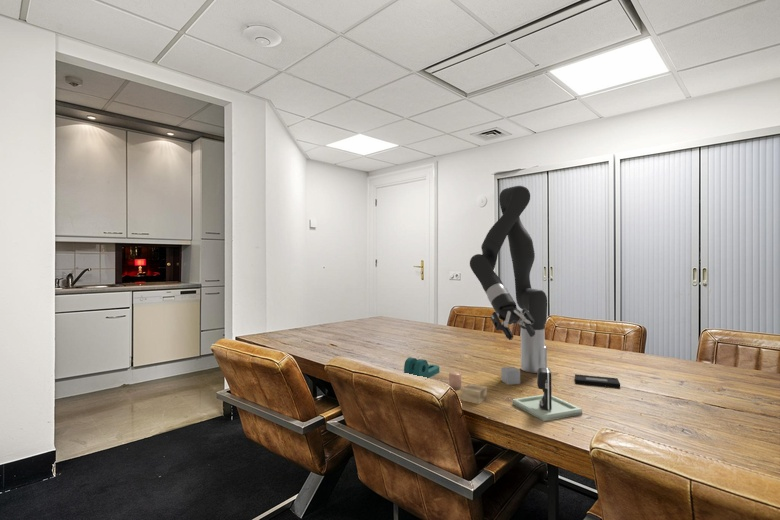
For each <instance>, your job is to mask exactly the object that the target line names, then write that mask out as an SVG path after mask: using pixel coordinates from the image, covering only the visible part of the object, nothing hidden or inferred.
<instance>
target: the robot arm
mask: <svg viewBox="0 0 780 520" xmlns="http://www.w3.org/2000/svg"><path fill="white" fill-rule="evenodd" d="M498 201H499V206H500V210H501V213H502V215H501V216H500V217H499V219H498V220H497V221H496V222H494V224H493V225H492V226H491V227H490V229H489V230H488V232H487V233H486V236H485V238H484V240H483V242H482V244H481V252H482V253H477V254H474V255H473V256H472V257H471V258H470V259H469V268H470V269H471V271H472V273H473V274H474V275H475V277H476V279H477V280H478V282H479V283H480V284H481V288H482V289H483V290H484V293H485V294H486V296H487V300H488V301H489V303H490V304H491V307H492V309H493V310H494V311H493V312H492V314H491V316H490V319H491V322H492V324H493V325H494V328H495V330H496V331H502V332H503V334H504V335H505V338H506V339H508V340H509V341H512V340H513V338H514V335H513V332H512V331H511V329H510V328H509V327H508V326H509V325H511V324H512V325H513V324H514V325H515V324H518V325H519V326H520V369H521V371H523V372H527V373H531V374H532V373H533V374H536V373H537V371H538V369H539V368H548V348H547V346H546V345H545V343H546V340H545V339H546V335H545V334H546V333H545V332H546V330H545V324H546V322H547V318H548V296H547V295H546V292H545V291H544V290H543V289H538V288H532V285H531V278H530V277H531V276H530V275H531V271H532V267H533V264H534V261H535V258H536V256H535V254H536V253H535V248H534V241H533V239H532V237H531V234H529V232H528V230H527V229H526V227H525V226H524V225H523V223H522V220H521V218H520V216H521V215H522V213H523V212H524V211H525V209H526V208H527V206H528V205H529V203H530V201H531V193H530V190H529V189H528V187H527V186H524V185H514V186H511V187H506V188H504V189H502V190H501V191H500V193H499V198H498ZM506 238H507V240H508V246H509V252H510V259H511V262H512V263H511V264H512V270H513V275H514V287H515V299H516V301H515V300H514V298H513V297H512V295H511V294H510V292H509V290H508V288H507V287H506V286H505V285H504V284H503V282H502V280H501V278H500V276H498V274H497V273H496V272H495V271H494V270H495V267H496V264H497V259H498V255H499V252H500V250H501V248H502V247H503V245H504V242H505V240H506ZM517 306H518V307H519V308H520V309H518V307H517ZM501 320H502V322H501Z"/></svg>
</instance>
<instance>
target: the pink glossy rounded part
mask: <svg viewBox="0 0 780 520" xmlns="http://www.w3.org/2000/svg"><path fill="white" fill-rule="evenodd" d="M462 381H463V380H462V373H461V372H459V371H451V372H449V373H448V386H449V385H450V386H451V387H452V388H453V389H452V390H462V388H463V387H462Z"/></svg>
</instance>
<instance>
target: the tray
mask: <svg viewBox="0 0 780 520" xmlns="http://www.w3.org/2000/svg"><path fill="white" fill-rule="evenodd" d="M543 395H544V394H538V395H531V396H525V397H519V398H513V399H512V405H514V406H516V407H517V408H518V409H521V410H522V411H524V412H526V413H528V414H530V415H532V416H534V417H535V418H537V419H538V420H541V421H542V422H545V421H546V422H547V421H552V420H558V419H562V418H563V419H564V418H568V417H575V416H580V415H583V408H581V407H579V406H577V405H575V404H572V403H570V402H567V401H566V400H564V399H561V398H559V397H557V396H554V395H553V394H551V395H552V409H551V410H546V409H541V408H540V400H541V399H542V398H543Z"/></svg>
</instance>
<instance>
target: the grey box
mask: <svg viewBox="0 0 780 520" xmlns="http://www.w3.org/2000/svg"><path fill="white" fill-rule="evenodd" d="M500 371H501V375H500V376H501V379H500V381H501V382H503V383H504V384H506V385H507V386H508V385H520V384H521V370H520V369H519V368H516V367H515V366H507V367H506V366H505V367H504V366H503V367H501V370H500Z"/></svg>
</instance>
